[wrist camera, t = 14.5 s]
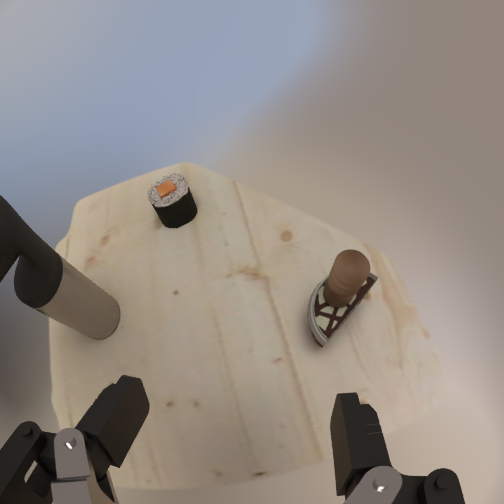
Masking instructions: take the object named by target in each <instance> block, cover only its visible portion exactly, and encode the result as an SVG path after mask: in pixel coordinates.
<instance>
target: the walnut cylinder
mask: <svg viewBox="0 0 504 504" xmlns="http://www.w3.org/2000/svg"><path fill="white" fill-rule="evenodd" d="M369 273H370V264H369V261H368V259H367V258H366V257H365V256H364V255H363V254H362V253H361V252H359V251H356V250H345V251H342V252H341V253H339V254H338V255H337V257H336V259H335V261H334V264H333V266H332V269H331V272H330V274H329V277H328V279H327V282H326V284H325V286H324V289H323V296H324V299H325V301H326V302H327V303H328V304H329V305H331V306H333V307H336V308H341V307H344V306H346V305H348V304H349V303H350V301H351V300H352V299H353V297H354V296H355V294H356V293H357V292H358V290H359V289H360V287H361V286H362V285H363V283H364V282H365V280H366V279H367V277H368V276H369Z"/></svg>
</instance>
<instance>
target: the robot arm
mask: <svg viewBox="0 0 504 504" xmlns="http://www.w3.org/2000/svg"><path fill="white" fill-rule="evenodd" d="M19 256H20V257H19ZM18 257H19V260H18V264H17V267H16V270H15V276H14V289H15V292H16V295H17V297H18V298H19V299H20V300H21V301H22V302H23V303H25V304H26V305H28V306H30V307H32V308H33V309H35V310H37V311H39V312H41V313H43V314H44V315H47V316H48V317H50V318H52V319H54V320H56V321H58V322H60V323H62V324H64V325H66V326H68V327H70V328H72V329H74V330H76V331H78V332H80V333H83V334H85V335H87V336H89V337H91V338H94V339H104V338H106V337H108V336H110V335H111V334H112V333H113V332H114V330H115V329H116V327H117V325H118V322H119V317H120V310H119V306H118V303H117V301H116V300H115V299H114V298H113V297H112V296H110V295H109V294H108V293H106V292H105V291H104V290H103V289H101V288H100V287H99V286H97V285H96V284H95V283H93V282H92V281H91V280H90V279H88V278H87V277H86V276H84V275H83V274H82V273H81V272H79V271H78V270H77V269H76V268H75V267H73V266H72V265H71V264H70V263H68V262H67V261H66V260H65V259H64V258H62V257H61V256H60V255H59V254H58V253H57V252H55V251H54V250H53V249H52V248H51V247H50V246H49V245H48V244H46V243H45V242H44V241H43V240H42V239H41V238H40V237H39V236H38V235H37V234H36V233H35V232H34V231H33V230H32V229H31V228H30V227H29V226H28V225H27V224H26V223H25V222H24V221H23V219H22V218H21V217H20V216H19V215H18V213H17V212H16V211H15V210H14V209H13V208H12V206H11V205H10V204H9V203H8V202H7V201H6V200H5V199H4V198H3V197H2V196H1V195H0V282H1V281H2V279H3V278H4V276H5V275H6V274H7V272H8V271H9V269H10V268H11V266H12V265H13V264H14V262H15V261H16V259H17V258H18ZM148 413H149V401H148V398H147V395H146V392H145V389H144V386H143V383H142V381H141V379H140V378H136V377H131V376H127V375H123V376H121V377H120V379H119V380H118V381H117V383H116V384H113V383H112V384H111V385H109V386H108V387H106V388H105V389H103V391H102V392H101V393H100V395H99V396H98V399H96V400H95V401H94V403H93V405H91V407H90V408H89V409H88V411H87V412H86V413H85V415H84V416H83V417H82V419H81V420H80V422H79V423H78V424H77V426H76V427H75V428H66V429H63V430H61V431H60V432H58V433H57V434H56V433H49V432H43V431H42V430H41V429H40V427H39V426H38V425H37V424H36V423H35V422H31V421H27V422H24V423H22V424H20V425H19V426H18V427H17V429H16V430H15V431H14V432H13V434H12V435H11V436H10V438H9V439H8V440H7V442H6V443H5V444H4V446H3V447H2V448H1V450H0V504H52V502H54V504H119V502H118V499H117V496H116V493H115V490H114V487H113V483H112V480H111V476H110V473H109V471H108V468H109V466H110V465H113V466H115V467H118V468H120V466H121V465H122V463H123V461H124V459H125V457H126V455H127V453H128V451H129V449H130V447H131V445H132V444H133V442H134V440H135V438H136V436H137V434H138V432H139V430H140V428H141V427H142V425H143V423H144V421H145V419H146V417H147V415H148ZM330 431H331V440H332V449H333V458H334V468H335V479H336V491H337V496H342V495H345V502H344V503H343V504H465V501H464V498H463V494H462V490H461V486H460V483H459V480H458V477H457V475H456V474H455V473H454V472H453V471H451V470H449V469H445V468H442V469H437V470H434V471H433V472H431V473H430V474H429V475H428V476H408V475H403V474H401V473H399V472H398V471H397V470H396V469H394V468H393V467H392V465H391V462H390V459H389V455H388V451H387V448H386V444H385V440H384V437H383V433H382V429H381V426H380V425H379V419H378V416H377V412H376V411H375V410H374V409H373V408H372V407H371V406H370V405H369V404H362V405H360V402H359V398H358V395H357V393H356V392H354V393H339V394H337V396H336V400H335V404H334V408H333V412H332V416H331V423H330ZM34 460H35V461H36V462H37V466H36V467H35V469H34V470H33V472H32V474H31V475H30V477H29V478H28V480H27V482H26V483H25V480H24V477H25V475H26V473H27V471H28V470H29V468H30V467H31V465H32V463H33V462H34Z"/></svg>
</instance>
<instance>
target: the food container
mask: <svg viewBox="0 0 504 504" xmlns="http://www.w3.org/2000/svg"><path fill="white" fill-rule="evenodd" d="M328 277H329V276H327V277H326V278H325V279H323V280H322V281H321V282H320V283H319V284H318V285H317V287H316V288H315V289H314V291H313V293H312V295H311V297H310V300H309V304H308V321H309V325H310V328H311V330H312V334H313V337H314V339H315V341H316V342H317V343H318V345H319V346H321V347H323V346H324V345H325V344H326V342H327V341H328V340H329V339H330V338H331V337H332V336H333V334H334V333H335V332H336V331H337V330H338V329H339V327H340V326H341V325H342V324H343V323H344V322H345V320H346V319H347V318H348V317H349V315H350V314H351V313H352V312H353V311H354V309H355V308H356V307H357V306H358V304H359V303H360V302H361V300H362V299H363V298H364V297H365V295H366V294H367V293H368V291H369V290H370V289H371V287H372V286H373V284H374V283H375V282H376V280H377V279H378V278H379V277H377V276H376V275H374V274H372V273H369V276H368V277H367V279H366V280H365V282H364V283H363V285H362V286H361V287H360V289H359V290H358V292H357V293H356V294H355V296H354V297H353V299H352V300H351V301H350V303H349V304H348V305H346V306H344V307H341V308H336V307H333V306H331V305H329V304H328V303H327V302H326V301H325V299H324V296H323V289H324V286H325V284H326V282H327V279H328Z"/></svg>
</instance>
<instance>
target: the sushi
mask: <svg viewBox="0 0 504 504" xmlns="http://www.w3.org/2000/svg"><path fill="white" fill-rule="evenodd" d="M163 177H164V178H163V179H162V180H161V181H159V182H158V181H156V182H155V184H154V185H151V188H150V189H149V190H148V191H147V194H148V198H149V201H150V202H151V204H152V206H153V207H154V209H155V211H156V212H157V214H158V216H159V218H160V219H161V221H162V223H163V224H164V225H165V226H166V227H168V228H175V227H176V228H178V227H180V226H182V225H184V224H186V223H188V222H190V221H192V220H193V219H194V218H195V216H196V214H197V207H196V204H195V202H194V199H193V197H192V194H191V192H190V189H189V184H188V182H187V179H184V176H183V175H181V176H180V174H175V173H173V174H172V175H171V174H169V176H167V177H166V176H163Z"/></svg>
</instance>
